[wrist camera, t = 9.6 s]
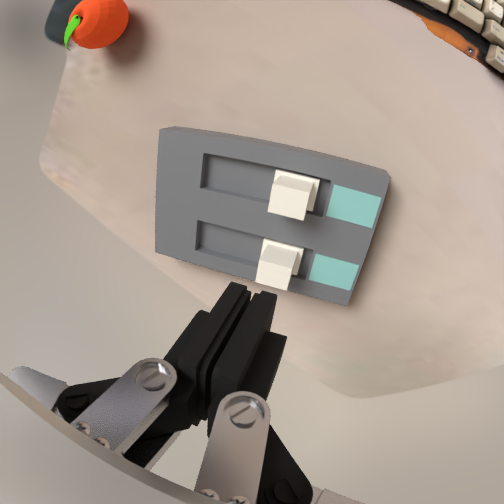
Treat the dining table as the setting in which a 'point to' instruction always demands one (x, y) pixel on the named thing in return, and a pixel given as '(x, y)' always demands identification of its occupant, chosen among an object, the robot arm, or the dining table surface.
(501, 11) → the mechanical keyboard
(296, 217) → the tab
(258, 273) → the tab
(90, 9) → the clementine
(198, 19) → the dining table surface
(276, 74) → the dining table surface
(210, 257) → the switch panel
